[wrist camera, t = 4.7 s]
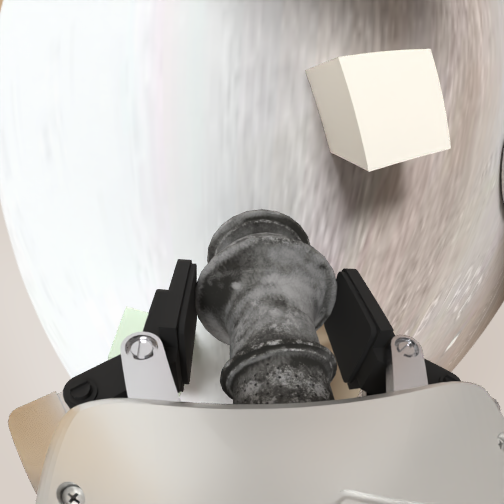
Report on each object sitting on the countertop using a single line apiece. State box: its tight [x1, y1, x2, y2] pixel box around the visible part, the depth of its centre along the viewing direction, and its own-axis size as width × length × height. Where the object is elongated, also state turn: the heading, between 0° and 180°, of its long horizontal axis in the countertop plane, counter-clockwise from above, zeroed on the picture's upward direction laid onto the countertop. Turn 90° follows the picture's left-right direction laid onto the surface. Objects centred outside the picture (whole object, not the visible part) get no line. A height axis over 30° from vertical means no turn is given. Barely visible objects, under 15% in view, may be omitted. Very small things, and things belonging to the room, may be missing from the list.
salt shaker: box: [195, 209, 337, 404], centre depth 9 cm, size 6×6×12 cm
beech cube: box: [316, 324, 361, 400], centre depth 20 cm, size 5×5×5 cm
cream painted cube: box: [305, 49, 451, 172], centre depth 12 cm, size 5×5×5 cm
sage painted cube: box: [108, 306, 181, 396], centre depth 19 cm, size 5×5×5 cm
